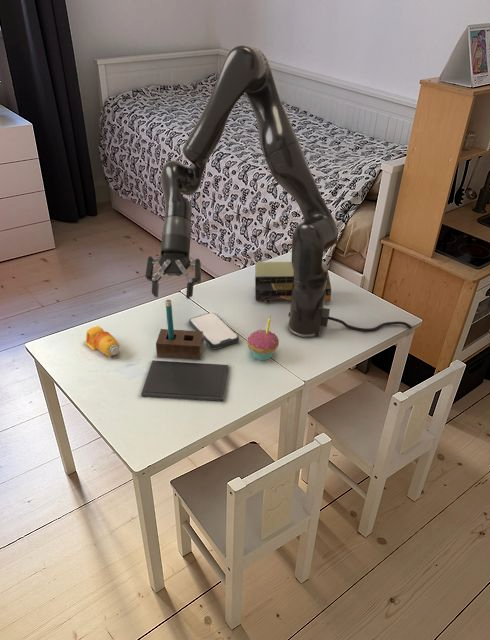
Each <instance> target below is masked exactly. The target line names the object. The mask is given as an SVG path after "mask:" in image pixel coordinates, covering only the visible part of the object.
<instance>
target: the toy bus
mask: <svg viewBox="0 0 490 640" xmlns="http://www.w3.org/2000/svg"><path fill="white" fill-rule="evenodd" d="M322 263H324V264H325V265H326V266H327V263H326V261H322ZM254 266H255V267H254V270H255V272H254V273H255V274H254V289H255V291H254V293H255V301H256V302H262V303H263V302H264V303H265V304H269V303H271V302H291V297H292V285H293V274H294V270H293V267H292V261H256V262H255V265H254ZM331 297H332V286H331V280H330V275H329V273H328V276H327V283H326V291H325V302H331Z"/></svg>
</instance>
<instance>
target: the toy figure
mask: <svg viewBox="0 0 490 640" xmlns="http://www.w3.org/2000/svg"><path fill="white" fill-rule="evenodd" d="M85 345H86V346H87V347H89V348H90V349H91V350H93V351H97V350H98V351H99V352H100V353H102V354H103V355H105V356H106V357H113V356H115V355H117V354H118V353H119V352H120V344H119V342H118V340H117V339H116V338H115V337H114V336H113V335H112V334H111V333H110V332H108V331H105V330H104V329H103V328H102V327H100V326H99V325H96V326H93V327H90V328H88V329H87V330H86V335H85Z"/></svg>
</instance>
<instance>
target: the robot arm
mask: <svg viewBox="0 0 490 640" xmlns="http://www.w3.org/2000/svg"><path fill="white" fill-rule="evenodd" d="M276 85H277V84H276V82H275V79H274V76H273V72H272V69H271V65H270V62H269V60H268V58H267V56H266V55H265V53H264V52H263V51H261V50H260V49H258V48H256V47H254V46H251V45H246V44H240V45H236V46H234V47H233V48H232V49H230V50H229V51H228V53H227V54H226V56H225V58H224V60H223V64H222V66H221V68H220V71H219V73H218V76H217V79H216V82H215V85H214V86H213V89H212V92H211V94H210V96H209V98H208V101H207V103H206V105H205V106H204V109H203V111H202V113H201V115H200V116H199V118H198V120H197V122H196V124H195V126H194V127H193V129H192V131H191V132H190V134H189V136H188V137H187V139H186V141H185V143H184V145H183V147H182V155H183V156H184V157H185V158H186V159H187V160H188V161H189V162H190V163H191V165H190V166H187V165H185V164H183V163H181V162H178V161H177V160H168V161H167V162H165V164H164V165H163V166H162V167H161V168H162V169H161V172H160V183H161V190H162V194H163V200H164V205H165V207H164V216H163V217H164V219H163V224H162V229H161V230H162V231H161V243H160V255H159V257H157V258H156V257H153V256H150V255H149V256H148V257H147V261H146V269H145V276H144V277H145V279H146V280H147V281H149V282H151V294H152V295H153V297H154V298H158V297H159V289H160V288H159V287H160V283H159V282H160V281H161V280H162V279H163V278H164V277H166V276H168V277H169V276H170V277H172V276H176V277H181V276H183V277H184V279H185V281H187V283H186V295H185V296H186V299H187V300H190V299H191V298H193V296H194V285H197V284H200V283H201V282H202V263H201V261H200V259H199V258H196V259H190V252H191V251H190V250H191V239H192V211H193V209H192V208H193V206H192V203H191V201H190V200H189V199H188V198H186V197H185V196H192V195H194V194H195V193H196V192H197V191H198V190H199V189H200V187H201V183H202V181H203V180H202V179H203V176H204V173H205V170H206V167H207V163H208V161H209V159H210V157H211V156H212V155H213V153H214V151H215V150H216V148H217V146H218V145H219V143H220V141H221V139H222V136H223V134H224V131H225V128H226V125H227V121H228V120H229V117H230V115H231V113H232V110H233V109H234V108H235V105H236V104H237V103H238V101H240V99H241V97H243V95H245V97H246V98H247V100H248V104H249V105H250V107H251V109H252V112H253V113H254V117H255V120H256V124H257V132H258V139H259V144H260V149H261V153H262V155H263V158H264V160H265V162H266V165H267V167H268V169H269V172H270V174H271V176H272V177H273V179H274V180H275V181H276V182H277V184H278V185H279V186H280V187H281V188H283V189H284V191H286V192H287V193H288V195H290V197H292V198H293V200H294V201H295V202H296V204H297V206H298V207H299V209H300V211H301V214H302V217H303V219H304V221H302V222H301V223H299V224H298V225H296V227H295V228H294V230H293V233H292V239H291V243H292V244H291V262H292V267H293V270H294V274H293V285H292V297H291V301H290V309H289V312H288V317H289V320H288V330H289V332H290V333H291V334H292V335H294V336H296V337H300V338H314V337H317V338H319V337H320V333H321V330H322V327H325V328H327V327H328V323H329V321H333V322H336V323H339V324H341V325H343V326H344V327H346V328H348V329H350V330H353V331H358V332H374V331H377V330H379V329H381V328H383V327H386V326H394V325H403V326H405V327H407V328H408V329H412V328H413V327H412V325H410V324H409V323H407V322H406V321H398V320H397V321H387V322H383V323H380V324H379V325H377V326H374V327H371V328H370V327H369V328H368V327H367V328H366V327H365V328H364V327H363V328H362V327H357V326H353V325H350V324H347V323H346V322H345V321H344V320H341V319H339V318H335V317H332V316H330V311H331V308H329V307H328V308H327V307H325V304H326V303H325V302H326V301H325V291H326V283H327V276H328V274H329V267H328V266H327V264H326V265H325V264H324V263H322V262H323V255H324V253H325V252H326V251H328V250H329V249H331V248H332V247H333V246H334V245H336V243H337V241H338V239H339V230H338V226H337V223H336V220H335V219H334V217H333V214H332V213H331V211H330V210H329V207H328V206H327V204H326V201H325V200H324V198H323V196H322V194H321V192H320V190H319V187H318V185H317V183H316V181H315V178H314V176H313V174H312V172H311V168H310V166H309V163H308V161H307V159H306V156H305V154H304V150H303V149H302V146H301V143H300V141H299V139H298V136H297V134H296V132H295V130H294V128H293V125H292V123H291V120H290V118H289V116H288V113H287V111H286V109H285V108H284V106H283V103H282V101H281V98H280V95H279V93H278V89H277V86H276ZM184 195H185V196H184ZM157 264H159V266H160V267H159V268H158V270H157V271H156V272H155V274H154V275H153V273H154V267H156V266H157ZM190 266H192V268H193V269H194V277H191V275H190V274H189V272H188V271H187V270H188V269H189V268H190Z"/></svg>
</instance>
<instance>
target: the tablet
mask: <svg viewBox="0 0 490 640" xmlns="http://www.w3.org/2000/svg"><path fill="white" fill-rule="evenodd" d="M228 369H229V365H228V364H219V363H218V364H217V363H203V362H202V363H200V362H184V361H169V360H151V363H150V367H149V369H148V372H147V376H146V377H145V381H144V385H143V387H142V391H141V393H140V394H141V397H147V398H161V399H162V398H164V399H177V400H178V399H179V400H193V401H194V400H195V401H212V402H223V401H224V397H225V396H224V395H225V389H226V383H227V376H228Z"/></svg>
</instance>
